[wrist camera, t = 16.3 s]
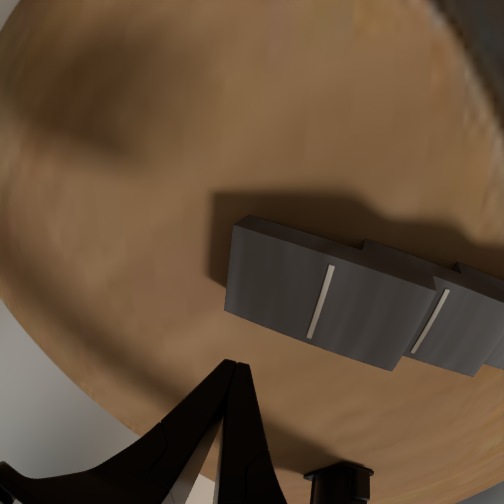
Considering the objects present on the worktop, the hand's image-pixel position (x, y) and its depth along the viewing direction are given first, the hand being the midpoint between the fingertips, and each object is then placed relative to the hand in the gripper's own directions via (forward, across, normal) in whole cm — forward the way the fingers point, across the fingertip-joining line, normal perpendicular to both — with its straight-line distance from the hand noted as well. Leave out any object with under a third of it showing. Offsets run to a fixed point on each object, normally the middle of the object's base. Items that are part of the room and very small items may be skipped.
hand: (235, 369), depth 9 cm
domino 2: (+7, -5, 0) cm, 8 cm away
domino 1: (+7, +2, 0) cm, 7 cm away
